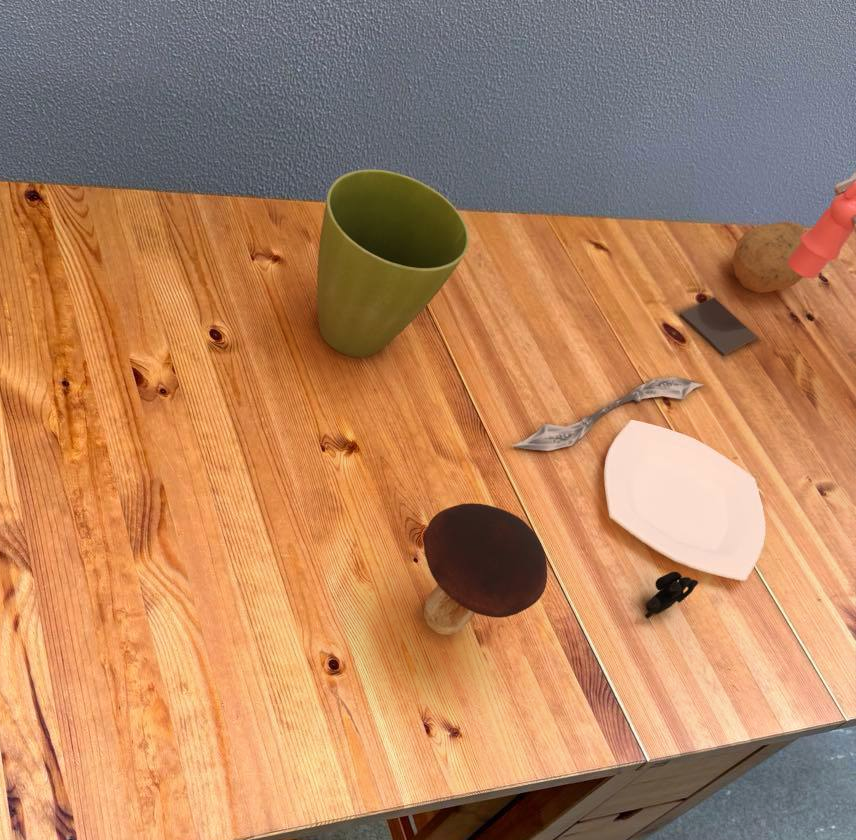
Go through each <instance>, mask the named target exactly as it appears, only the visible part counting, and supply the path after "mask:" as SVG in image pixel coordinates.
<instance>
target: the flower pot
mask: <svg viewBox="0 0 856 840" xmlns="http://www.w3.org/2000/svg"><path fill="white" fill-rule="evenodd" d="M324 206H325V207H324V212H323V216H322V223H321V229H320V237H319V244H318V257H317V271H316V273H317V274H316V279H317V280H316V294H317V296H316V298H317V300H316V301H317V315H318V327H319V332H320V334H321V337H322V338H323V340H324V341H325V343H326V344H328V345H329V347H331V348H332V349H334V351H336V352H338V353H340V354H343V355H345V356H348V357H352V358H358V359H359V358H360V359H361V358H369V357H372V356H374V355H376V354H377V353H378V352H381V350H383V349H384V348H385V347H386V346H387V345H388V344H390V343H391V342H392V341H393V340H394V339H395V338H397V336H399V335H400V334H401V333H402V332H403V331H404V330H406V328H407V327H408V326H409V325H410V324H411V323H412V322H413V321H414V320H415V319H416V318H417V317H418V316H419V315H420V314H421V313H422V311H424V310H425V308H426V307H427V306H428V305H429V304H430V302H432V300H433V299H434V298H435V296H436V295H438V293H439V292H440V290H441V289H442V288H443V287H444V285H445V284H446V283H447V281H448V280H449V278H450V277H451V276H452V274H453V273H454V272H455V270H456V269H457V267H458V266H459V264H460V262H461V261H462V260H463V258H464V256H466V254H467V252H468V249H469V245H470V234H469V229H468V226H467V223H466V221H465V220H464V217H462V214H461V213H460V211H459V210H458V209H457V208H456V207H455V206H454V205H453V204H452V202H450V201H449V200H448V199H447V198H446V197H445V196H444V195H443V194H441V193H440V192H438V191H437V190H436V189H434V188H432V187H431V186H430V185H427V184H426V183H424V182H422V181H420V180H418V179H415V178H413V177H411V176H407V175H405V174H402V173H398V172H394V171H390V170H384V169H372V168H371V169H359V170H355V171H351V172H348V173H345V174H343V175H342V176H340V177H338V178H337V179H336V180H335V181H334V182H333V183H331V186H330V187H329V189H328V192H327V196H326V200H325V205H324Z"/></svg>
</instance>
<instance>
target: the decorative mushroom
mask: <svg viewBox="0 0 856 840" xmlns="http://www.w3.org/2000/svg"><path fill="white" fill-rule="evenodd" d="M423 552H424V555H425V561H426V564H427V566H428V569H429V572H430V574H431V576H432V577H433V579H434V581H435V582H436V586H435V587H434V588H433V590H432V591H431V592H430V593H429V595H428V596H427V598H426V600H425V604H424V609H423V616H424V620H425V622H426V624H427V626H428V627H429V629H431V631H432V632H434V633H436V634H438V635H442V636H446V635H447V636H448V635H449V636H450V635H453V634H454V635H455V634H456V633H458V632H460V631H461V630H463V629H464V628H465V627H466V626H467V625H468V623H469V622H470V621H471V620H472V619H473V618H474V616H475V614H476V615H480V616H485V617H490V618H497V619H498V618H499V619H500V618H501V619H502V618H508V617H512V616H514V615H518V614H519V613H522V612H524V611H525V610H527V609H529V608H531V607H532V606H534V605H535V604H536V603H537V602H538V601H539V600H540V599H541V598H542V595H543V594H544V592H545V590H546V587H547V582H548V562H547V556H546V553H545V550H544V547H543V543H542V542H541V541H540V539H539V537H538V536H537V534H536V533H535V532H534V530H533V529H532V527H531V526H529V525H528V524H527V522H526V521H524V520H523V519H522V518H520V516H517V515H515V514H514V513H512V512H509V511H507V510H505V509H502V508H499V507H497V506H493V505H489V504H484V503H476V502H475V503H473V502H472V503H461V504H456V505H453V506H449V507H446V508H444V509H442V510H441V511H439V512H438V513H436V515H434V516H433V517H432V518H431V519H430V521H429V523H428V525H427V527H426V530H425V532H424V536H423Z"/></svg>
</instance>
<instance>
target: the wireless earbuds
mask: <svg viewBox="0 0 856 840" xmlns="http://www.w3.org/2000/svg"><path fill="white" fill-rule="evenodd" d="M698 584H699V581H698V580H697V579H692V578H691V577H689V576H682V574H681V573H680V572H678V571H671V572H669V573H666V574H664V575H662V576H660V577H658V578H657V579H656V580H655V583H654V586H655V589H656V590H658V592H657V593H656V594H654V595H653V596H652V597H651V598H650V599H649V600H648V601H647V602H646V604H645V605H646V606H645V608H646V610H647V612H646V613H645V615H644V618H645V619H650V618H651V616H653V615H658V614H660V613H662V612H663V611H666V610H668V609H670V608H672V606H673V605H674V604H676V603H678V604H680V603H682V602H683V601H684V600H685V599H686V598H688V597H689V595H690V594H691V593H692V592H693V591H694V589H695V588H696V586H698Z"/></svg>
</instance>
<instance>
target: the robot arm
mask: <svg viewBox="0 0 856 840" xmlns="http://www.w3.org/2000/svg"><path fill="white" fill-rule="evenodd" d="M853 182H856V171H854V173H853V174H852V175H850V176H849V178H848V179H846V180H843V181H841V182H839V183H837V184H835V185H834V186H833V193H834V197H836V196H838V195H839V194H842V193H844V192H845V190H846V189H847V188H848V187H849V186H850V185H851V184H852V183H853ZM852 226H853V228H854V232H855V233H856V215H855V216H854V217H853V218H852Z"/></svg>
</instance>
